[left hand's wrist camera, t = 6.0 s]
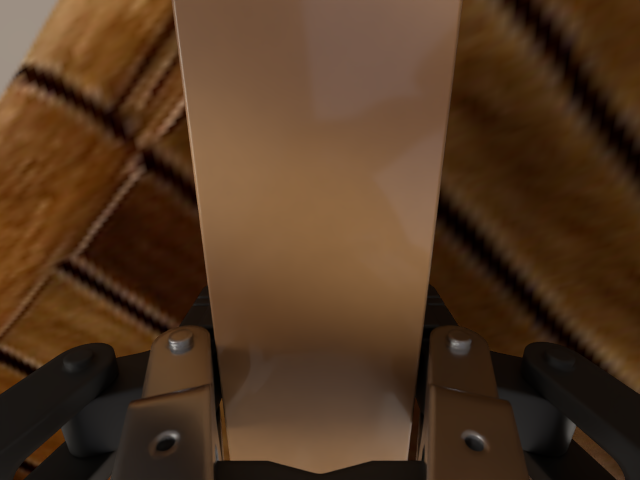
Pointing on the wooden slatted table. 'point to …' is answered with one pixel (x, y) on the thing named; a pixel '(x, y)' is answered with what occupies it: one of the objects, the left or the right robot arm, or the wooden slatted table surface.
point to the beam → (317, 213)
